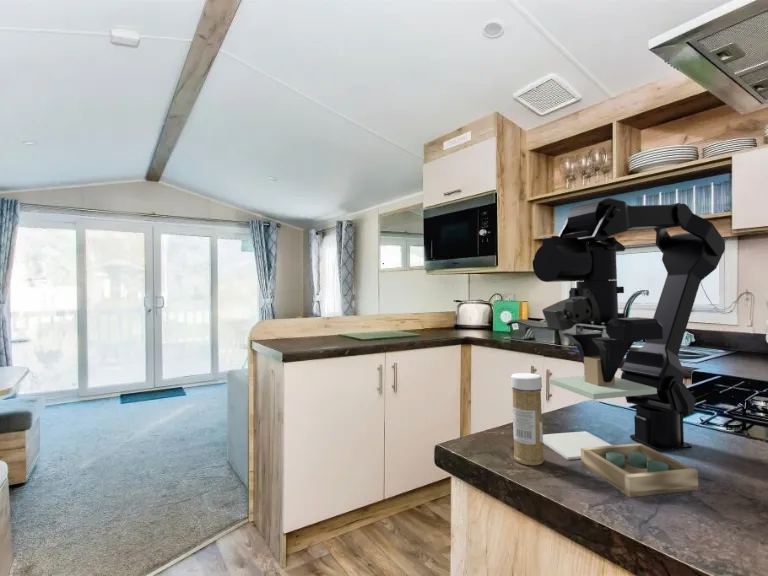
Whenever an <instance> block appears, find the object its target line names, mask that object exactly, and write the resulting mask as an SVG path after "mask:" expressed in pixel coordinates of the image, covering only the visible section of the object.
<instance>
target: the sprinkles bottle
mask: <svg viewBox="0 0 768 576" xmlns="http://www.w3.org/2000/svg"><path fill="white" fill-rule="evenodd" d="M510 378H511V379H510V385H511V387H512V388H511V390H512V425H513V427H512V429H513V444H514V447H513V449H514V451H513V452H514V454H513V458H514V460H515V461H516V462H517V463H519V464H521V465H526V466H539V465H542V464H543V462H544V461H545V457H544V448H543V446H544V445H543V444H544V443H543V435H544V432H543V420H542V419H543V416H542V415H543V413H542V393H541V392H542V387H543V383H542V382H543V381H542V376H541V375H540V374H537V373H532V372H518V373H512V374H511V376H510Z"/></svg>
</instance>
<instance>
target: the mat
mask: <svg viewBox="0 0 768 576" xmlns="http://www.w3.org/2000/svg"><path fill="white" fill-rule="evenodd" d="M543 444H544V445H545V446H546V447H548V448H550V449H551V450H553V451H554V452H555V453H556V454H558V455H560V456H561V457H563V458H564V459H565V460H568V461H570V460H581V448H588V447H600V446H612V445H613V444H612V443H611V444H610V443H608V442H606V441H605V440H604V439H601V438H599V437H597V436H596V435H594V434H592V433H590V432H588V431H586V430H585V431H574V432H572V431H571V432H559V433H557V432H556V433H548V434H544V433H543Z"/></svg>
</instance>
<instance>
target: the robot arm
mask: <svg viewBox="0 0 768 576" xmlns="http://www.w3.org/2000/svg"><path fill="white" fill-rule="evenodd" d="M676 227H680V228H681V229H682V230H683V231H685V232H687V233H680V234H679V233H678V234H672V235H670V234H669V233H668V231H667V229H669V228H676ZM643 229H645V230H646V229H652V230H654V231H655V233H656V234H655V246H656V247H657V248H658V249H659V251H660V252H661V253H662V257H661V258H662V259H661V261H662V265H664V268H665V271H666V274H667V275H666V277H665V281H664V285H663V288H662V290H661V293H660V296H659V299H658V302H657V306H656V308H655V312H654V315H653V318H650V317H641V316H640V317H636V316H635V317H626V313H624V312H619V299H618V294H624V293H625V286H618V280H617V279H618V275H617V273H618V269H617V253H618V252H625V251H626V247H625V246H624V244H623V243H620V242H619V241H618V240H617V239H616V237H615V235H619V234H621V233H624V232H627V231H629V230H643ZM541 239H542V240H541V244H542V245H541V246H540V247H539V248H537V250H536V251H535V254H534V257H533V259H532V269H533V272H534V274H535V277H536V278H537V279H539V280H540V281H542V282H545V283H555V282H559V283H560V282H562V283H563V282H564V283H565V282H576V284H575V285H576V287H570V290H569V292H568V298H566V299H563V300H560V301H558V302H555V303H553V304H551V305H549V306H547V307H545V308H543V309H542V310H541V311H542V314H543V317H544V319H545V321H546V324H547V330H551V331H557V332H559V331H566V333H565V332H563V333H562V335H563V337H565V338H567V339H569V341H571V342H572V343H573V344H574V345H575V347H576V349H577V351H578V353H579V356H580V359H581V361H582V363H583V365H584V357H589V356H600V359H601V369H602V375H603V380H604V382H611V381H612V379H613V377H614V375H616V373H617V371H618V370H619V367H620V366H621V364H622V362H623V360H624V359H625V360H624V363H623V365H622V367H621V368H620V371H621V375H620V379H624V380H628V381H632V382H635V383H639V384H643V385H647V386H650V387H654V388H657V394H648V395H638V396H627V397H625V400H626V403H627V404H632V405H635V414H634V416H633V417H634V419H633V420H634V434H630V435H629V439H631V440H634V441H635V442H638V443H641V444H643V445H645V446H647V447H649V448H651V449H653V450H655V451H657V452H664V451H675V450H676V451H677V450H687V449H688V450H689V449H693V445H692V444H690V443H689V442H685V440H684V439H685V437H684V415H685V416H689V415H691V413H694V412H695V406H696V400H697V399H696V397H695V396H694V395H693V394H692V392H691V391H690V390H689V388H688V387H687V386H686V384H685V383H684V380H685V371H684V368H683V366H682V363H681V360H680V358H679V353H680V349H681V347H682V343H683V340H684V336H685V333H686V330H687V327H688V324H689V320H690V317H691V314H692V310H693V307H694V304H695V301H696V297H697V294H698V291H699V287H700V284H701V281H703V280H704V279H705V278H707V277H708V276H709V275H710V274H711V273H713V272H714V271H715V270H716V269H717V267H718V266H719V263H720V260H721V259H722V256H723V255H724V253H725V251H726V242H725V239H724V238H723V236H722V235H721V234H720V232H719V230H718V229H717V227H715V225H714V223H712V222H711V221H709V220H707V219H705V218H703V217H701V216H699V215H697V214H696V213H694V212H693V211H692V210H691V208H690V207H689V205H687V204H686V203H681V202H676V203H671V204H649V205H646V204H644V205H642V204H641V205H629V204H627V202H626V201H624V200H621V199H616V198H611V197H607V198H603V199H597V200H594V201H590V202H586V203H582V204H579V205H575V206H573V207H571V208H570V211H569V213H568V216H567V219H566V220H565V222H564V223H563V226H562V228H561V229H560V231H559V233H558V235H548V236H545V237H542V238H541ZM595 331H596V332H595ZM639 341H645V343H644V345H643V346H642V347H640V348H639V349H638V350H637V349H631V347H632V345H634V343H635V342H637V343H638V342H639Z"/></svg>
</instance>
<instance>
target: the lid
mask: <svg viewBox="0 0 768 576" xmlns="http://www.w3.org/2000/svg"><path fill="white" fill-rule="evenodd" d="M583 368H584V369H583V373H584V374H583V375H579V376H577V375H576V376H566V377H551V378H548V380H549V384H550V385H553V386H556V387H558V388H561V389H564V390H566V391H568V392H571V393H574V394H578V395H579V396H583V397H585V398H588V399H591V400H604V399H605V400H606V399H615V398H624V397H625V398H626V397H627V396H638V395H648V394H657V388H654V387H650V386H647V385H643V384H639V383H635V382H632V381H628V380H624V379H621V377H616V376H615V375H616V374H615V375H614V377H613V379H612V381H611V382H604V380H603V375H602V369H601V359H600V356H589V357H584V364H583Z"/></svg>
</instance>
